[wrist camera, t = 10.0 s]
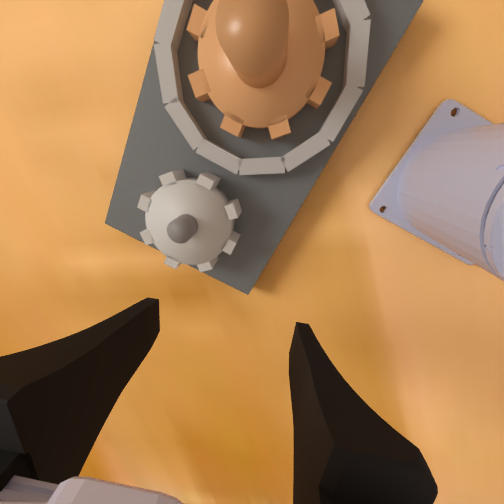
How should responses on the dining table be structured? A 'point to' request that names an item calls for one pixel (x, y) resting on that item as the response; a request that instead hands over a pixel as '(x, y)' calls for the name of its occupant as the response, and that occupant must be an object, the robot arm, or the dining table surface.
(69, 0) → the dining table surface
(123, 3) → the dining table surface
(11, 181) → the dining table surface
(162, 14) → the carrier plate
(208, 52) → the planet gear
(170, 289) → the dining table surface
